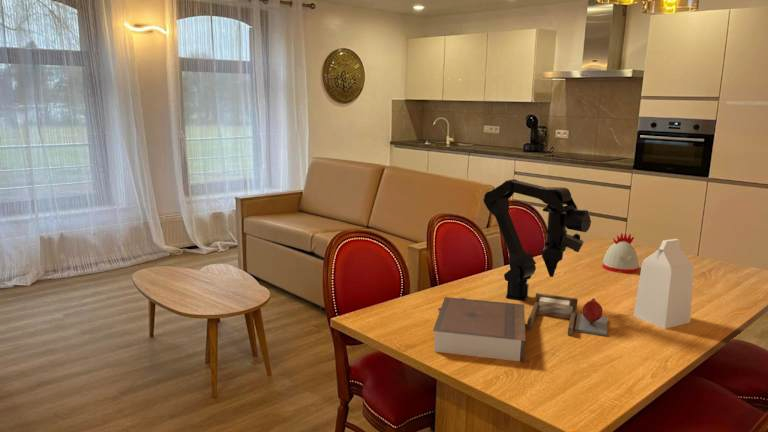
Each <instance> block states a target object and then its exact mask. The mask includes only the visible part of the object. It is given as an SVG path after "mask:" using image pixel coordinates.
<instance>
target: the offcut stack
mask: <svg viewBox="0 0 768 432" xmlns="http://www.w3.org/2000/svg"><path fill="white" fill-rule="evenodd" d="M572 310H573V306H570V301H567V300H560V299H553V298H546V297H540V300H539V306H538V309H537V315H542V316H547V317H556V318H561V319H567V320H570V318H571V313H572Z"/></svg>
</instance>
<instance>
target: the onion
mask: <svg viewBox="0 0 768 432" xmlns="http://www.w3.org/2000/svg"><path fill="white" fill-rule="evenodd" d="M582 306H583V307H582V314H583V315H584V317H585V318H586V319H587V320H588V321H589V322H590V323H594V322H595V321H597V320H599V319H600V318H601V317H603V308H602V306H601V304H600V303H599V302H598V301H596V298H594V297H593V298H592V299H591V300H589V301H587V302H586V303H585V304H584V305H582Z"/></svg>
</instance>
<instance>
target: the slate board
mask: <svg viewBox="0 0 768 432" xmlns="http://www.w3.org/2000/svg"><path fill="white" fill-rule="evenodd" d="M608 318H609V317H608V316H607V317H606V316H602V317H601V318H600V319H599V320H597V321H595V322H594V323H590V322H589V321H588V320H587V319H586V318H585V317H584V315H583V313H577V314H576V319H575V324H574V332H577V333H583V334H590V335H596V336H603V337H608Z"/></svg>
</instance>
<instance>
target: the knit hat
mask: <svg viewBox="0 0 768 432" xmlns="http://www.w3.org/2000/svg"><path fill="white" fill-rule="evenodd" d="M631 236H632V234H631V233H629V234H628V236H627V232H625V233H624V234H623V233H622V232H621V233H620V236H619V235H616V239H617V240H616V239H615V238H613V242H614V243H613V244H612V245H611V246H609V248H608V249H607V250H606V252H605V255H604V257H603V260H602V266H601V267H602V269H604V270H606V271H609V272H613V273H618V274H636V273H638V272H639V268H640V267H639V266H640V264H639V259H638V254H637V251H636V249H635V248H634V246H632V243H633V240H634V239H635V237H634V236H632V237H631Z"/></svg>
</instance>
